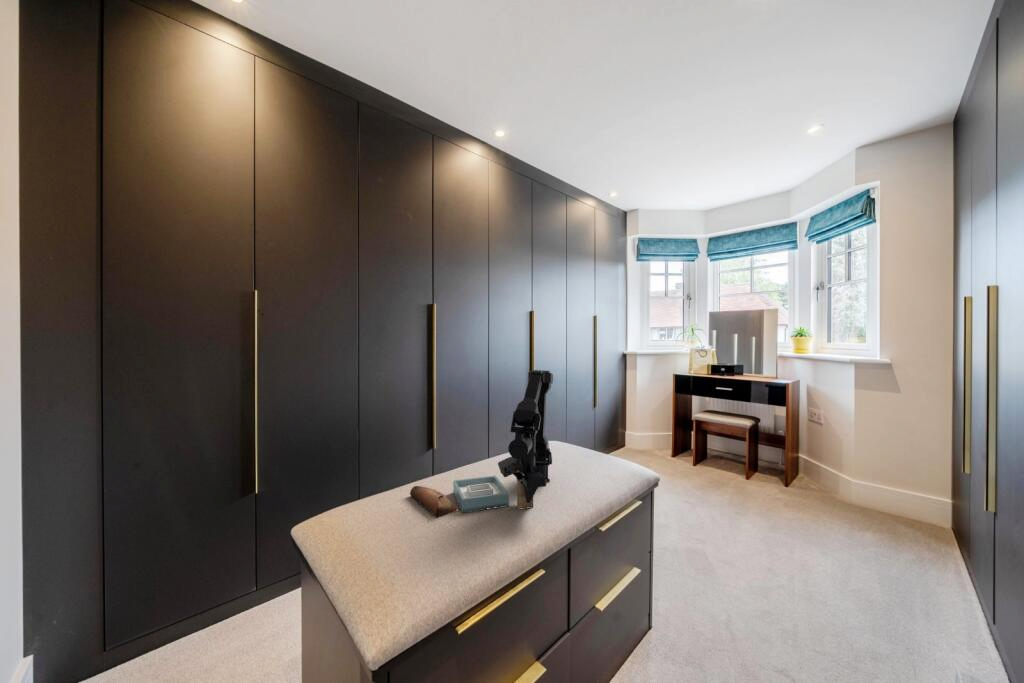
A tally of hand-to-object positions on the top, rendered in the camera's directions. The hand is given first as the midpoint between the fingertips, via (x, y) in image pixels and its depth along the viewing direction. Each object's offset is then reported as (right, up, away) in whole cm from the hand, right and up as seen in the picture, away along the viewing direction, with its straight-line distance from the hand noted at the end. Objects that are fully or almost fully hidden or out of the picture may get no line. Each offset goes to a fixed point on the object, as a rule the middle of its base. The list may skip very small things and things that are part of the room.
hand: (525, 498), depth 116 cm
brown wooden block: (0, -2, 0) cm, 2 cm away
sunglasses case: (-28, -3, +2) cm, 28 cm away
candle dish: (-14, -2, +5) cm, 15 cm away
